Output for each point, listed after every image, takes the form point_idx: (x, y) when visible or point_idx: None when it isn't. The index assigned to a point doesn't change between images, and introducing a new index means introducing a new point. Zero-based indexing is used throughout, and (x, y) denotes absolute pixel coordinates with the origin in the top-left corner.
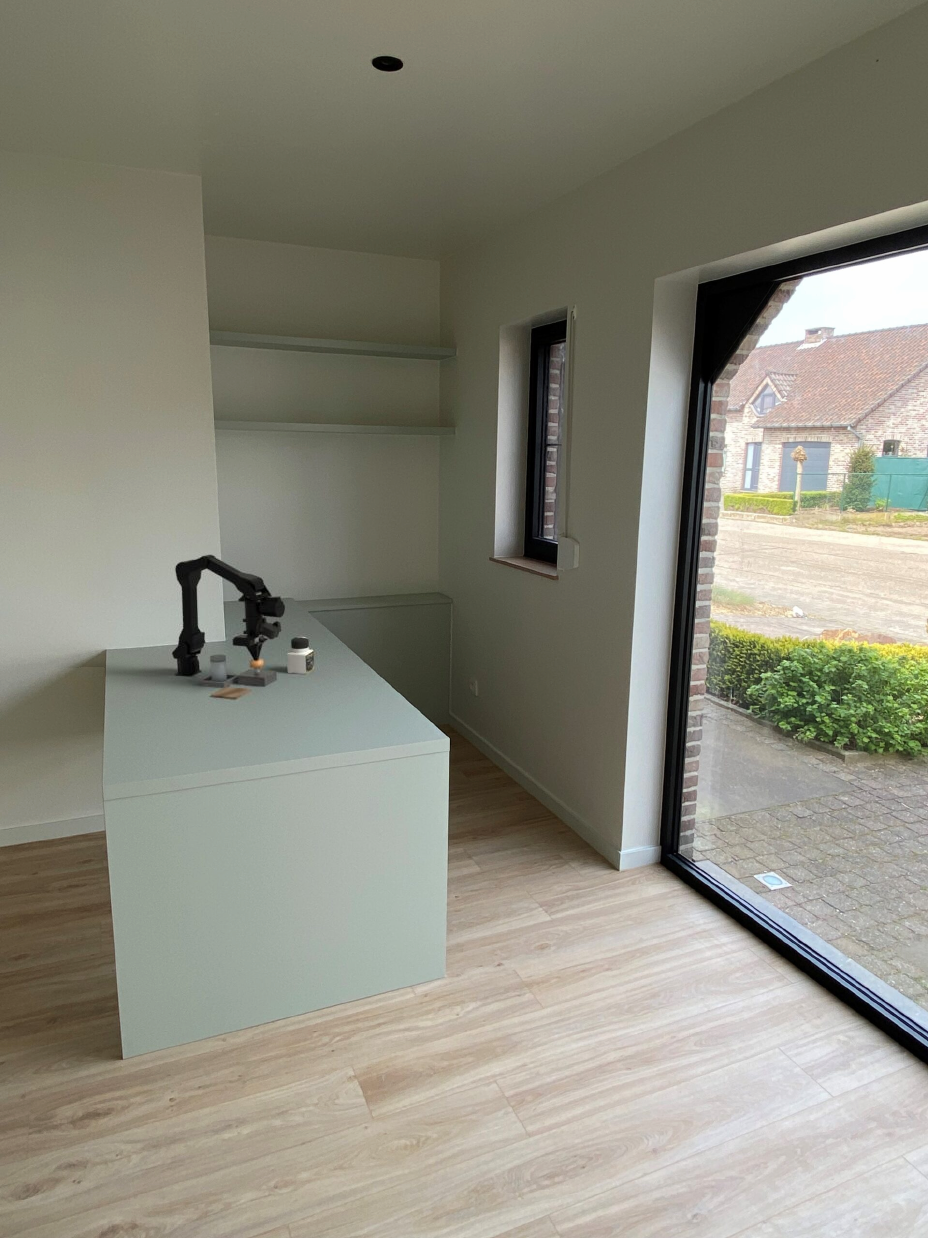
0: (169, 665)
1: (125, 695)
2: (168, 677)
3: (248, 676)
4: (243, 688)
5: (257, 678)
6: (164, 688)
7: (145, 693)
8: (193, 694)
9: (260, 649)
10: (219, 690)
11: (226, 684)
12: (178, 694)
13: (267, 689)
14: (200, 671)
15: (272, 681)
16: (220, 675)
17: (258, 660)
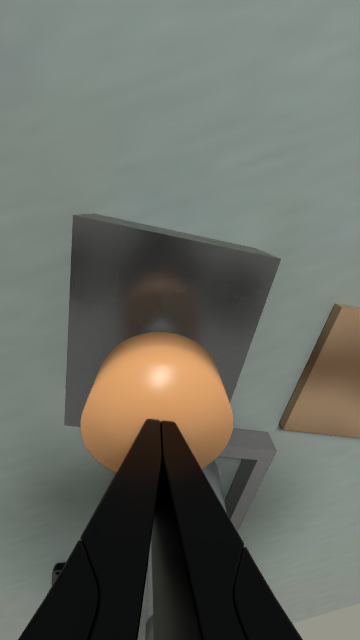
0: (18, 636)
1: (320, 605)
2: (145, 599)
3: (236, 379)
4: (323, 349)
5: (256, 314)
6: (262, 570)
7: (308, 584)
8: (342, 492)
9: (100, 574)
10: (338, 434)
11: (255, 439)
12: (333, 525)
13: (317, 211)
14: (63, 566)
15: (156, 227)
16: (221, 503)
17: (156, 412)
